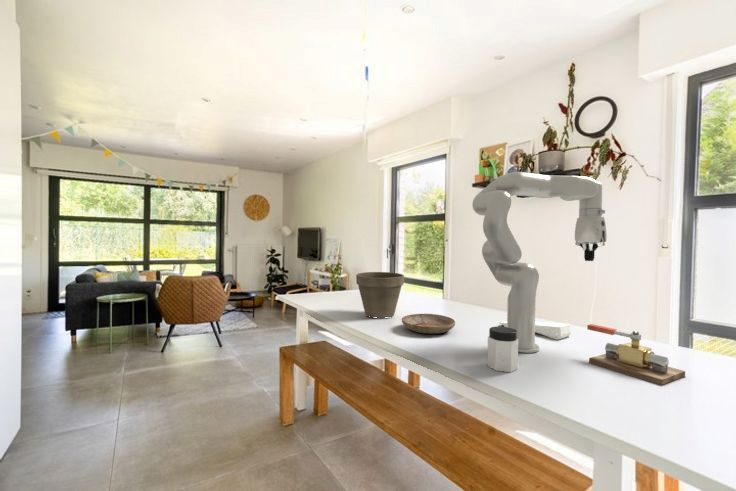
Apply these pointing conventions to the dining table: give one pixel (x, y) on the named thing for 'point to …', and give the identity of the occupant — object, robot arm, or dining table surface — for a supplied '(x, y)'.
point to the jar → (503, 349)
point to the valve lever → (614, 331)
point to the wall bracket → (550, 329)
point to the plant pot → (379, 292)
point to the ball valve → (637, 356)
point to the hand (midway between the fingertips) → (589, 260)
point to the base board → (638, 370)
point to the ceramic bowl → (428, 323)
